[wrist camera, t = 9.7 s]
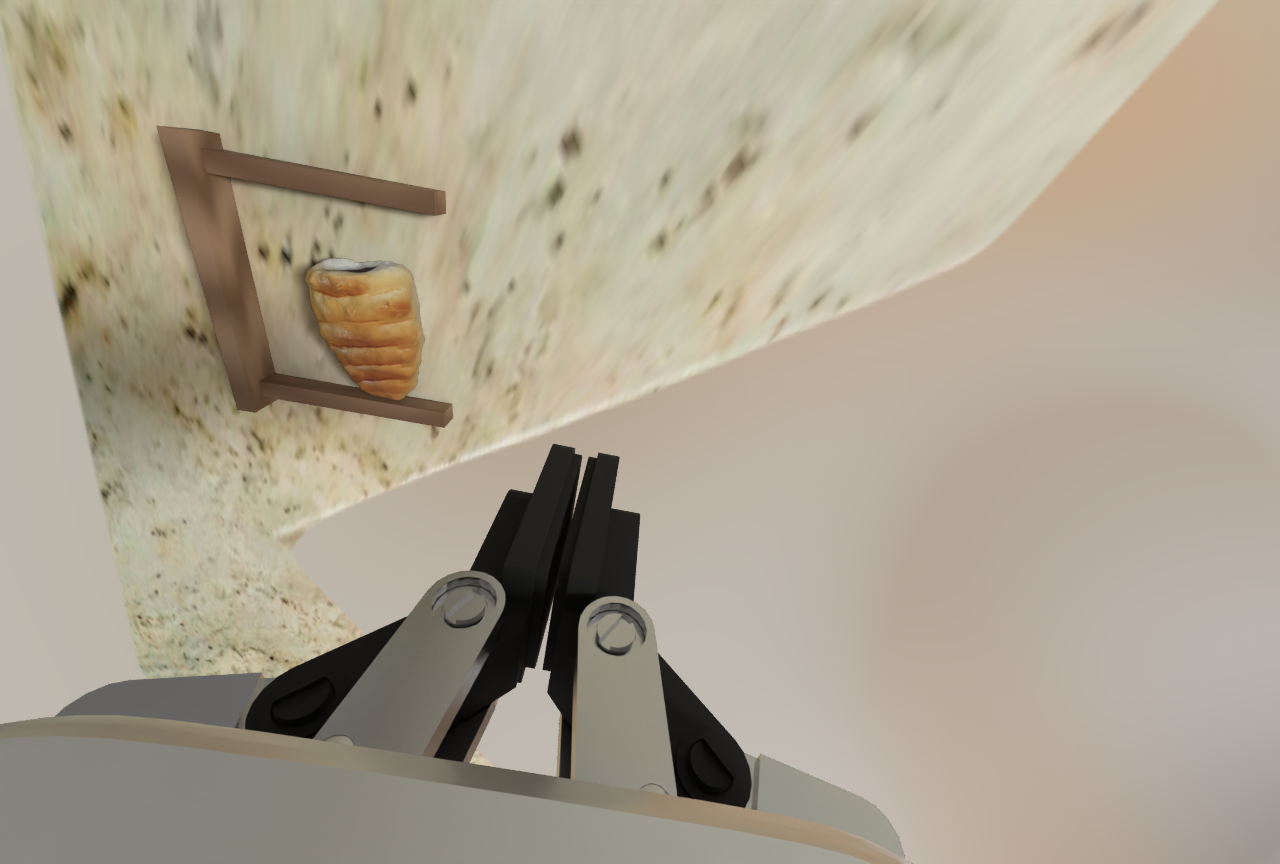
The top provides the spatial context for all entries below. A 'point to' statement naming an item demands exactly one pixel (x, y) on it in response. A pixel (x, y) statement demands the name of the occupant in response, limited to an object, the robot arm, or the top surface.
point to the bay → (229, 277)
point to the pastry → (370, 322)
